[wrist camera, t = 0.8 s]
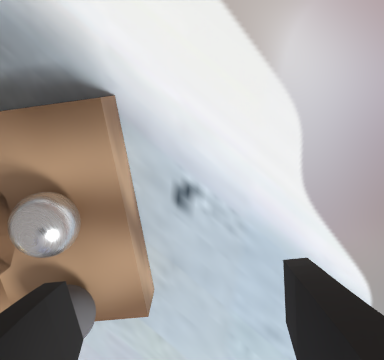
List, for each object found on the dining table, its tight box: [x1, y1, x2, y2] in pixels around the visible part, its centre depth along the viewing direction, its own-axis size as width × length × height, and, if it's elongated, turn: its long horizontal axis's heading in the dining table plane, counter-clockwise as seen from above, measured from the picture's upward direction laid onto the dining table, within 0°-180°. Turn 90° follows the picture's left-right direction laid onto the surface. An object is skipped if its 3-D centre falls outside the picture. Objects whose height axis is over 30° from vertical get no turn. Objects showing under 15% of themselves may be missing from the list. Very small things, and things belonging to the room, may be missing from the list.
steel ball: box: [8, 192, 81, 258], centre depth 15 cm, size 3×3×3 cm
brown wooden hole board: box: [0, 95, 154, 321], centre depth 18 cm, size 13×16×2 cm
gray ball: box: [67, 284, 96, 339], centre depth 16 cm, size 3×3×3 cm
